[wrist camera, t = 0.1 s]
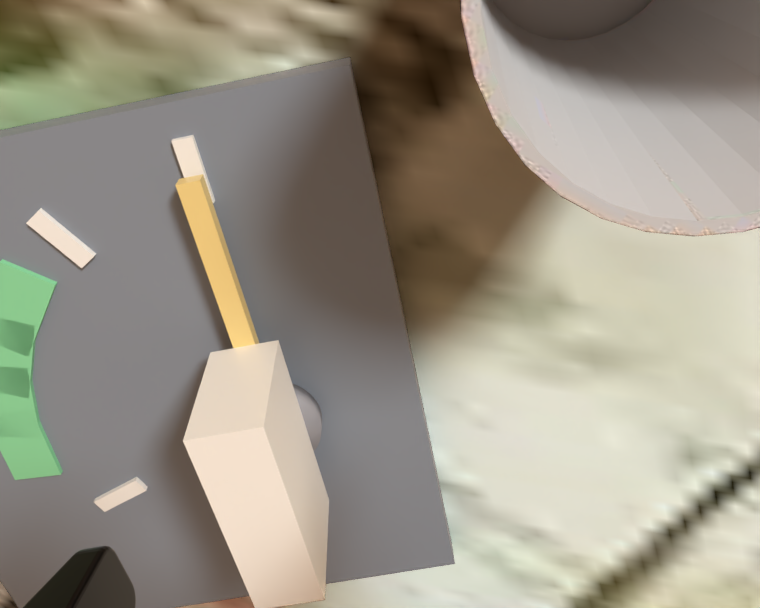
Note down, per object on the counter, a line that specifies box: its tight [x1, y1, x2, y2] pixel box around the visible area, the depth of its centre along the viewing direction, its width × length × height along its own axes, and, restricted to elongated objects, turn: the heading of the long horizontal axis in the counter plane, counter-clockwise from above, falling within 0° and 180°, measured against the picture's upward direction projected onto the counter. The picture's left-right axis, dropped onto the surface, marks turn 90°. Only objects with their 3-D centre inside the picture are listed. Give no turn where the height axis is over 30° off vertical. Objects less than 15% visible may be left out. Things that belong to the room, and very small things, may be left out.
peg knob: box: [175, 174, 329, 608], centre depth 22 cm, size 12×3×5 cm, turn 11°
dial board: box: [0, 57, 455, 608], centre depth 26 cm, size 20×18×1 cm
